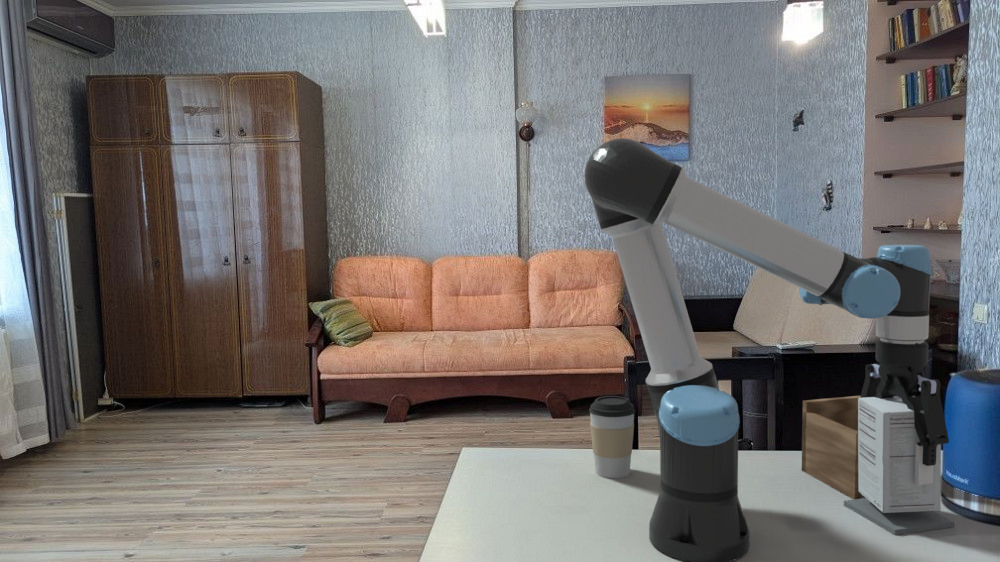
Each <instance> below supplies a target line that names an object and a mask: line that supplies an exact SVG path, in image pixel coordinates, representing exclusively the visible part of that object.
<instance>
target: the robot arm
mask: <svg viewBox="0 0 1000 562" xmlns="http://www.w3.org/2000/svg"><path fill="white" fill-rule="evenodd" d="M584 183H585V187H586V190H587V193H588V194H589V196H590V198H591V201H592V204H593V207H594V210H595V214H596V217H597V221H598V224H599V228H600V230H601V232H603V233H605V235H608V236H610V237H611V238H612V239H613V241H612V242H613V244H614V247H615V250H616V253H617V256H618V257H617V258H618V261H619V264H620V268H621V271H622V275H623V277H624V281H625V284H626V289H627V291H628V294H629V297H630V302H631V304H632V308H633V311H634V314H635V319H636V322H637V325H638V329H639V332H640V336H641V338H642V342H643V346H644V350H645V353H646V355H647V359H648V363H649V366H650V372H649V373H648V375H647V377H646V378H645V384H646V387H647V390H648V394H649V397H650V401H651V404H652V408H653V412H654V415H655V418H656V419H655V420H656V422H657V426H658V427H657V428H658V433H659V448H660V449H659V450H660V451H659V452H660V454H659V455H660V457H659V459H660V460H659V461H660V462H659V463H660V472H659V473H660V474H659V475H660V476H659V477H660V487H659V488H660V491H659V494H658V496H657V500H656V502H655V505H654V508H653V511H652V515H651V517H650V520H649V524H648V525H649V526H648V527H649V528H648V530H649V531H648V532H649V534H648V535H649V536H648V537H649V542H650V543H651V545H652V546H653V547H654V548H655V549H657V550H658V551H660V552H661V553H662V554H665V555H667V556H670V557H672V558H675V559H678V560H681V561H686V562H731V561H735V560H738V559H740V558H742V557H743V556H745V555H746V554H747V553H748V552H749V550H750V530H749V527H748V523H747V521H746V520H747V519H746V517H745V515H744V511H743V508H742V505H741V501H740V500H739V494H738V492H739V489H738V488H739V429H740V424H741V423H740V421H741V420H740V414H739V407H738V403H737V401H736V399H735V397H733V395H731V394H730V393H729V392H727V391H724V390H721V389H720V387H719V384H718V381H717V377H716V373H715V371H714V369H715V368H714V367H713V364H712V362H710V361H708V360H706V359H704V358H703V357H702V356H701V354H700V351H699V348H698V343H697V339H696V336H695V334H694V330H693V327H692V323H691V319H690V316H689V313H688V309H687V306H686V302H685V299H684V296H683V292H682V289H681V285H680V282H679V278H678V274H677V271H676V269H675V265H674V261H673V258H672V253H671V251H670V248H669V244H668V240H667V238H666V234H665V230H664V227H663V224H666V225H668V226H670V227H672V228H674V229H676V230H678V231H681V232H683V233H685V234H687V235H688V236H691V237H693V238H695V239H697V240H700V241H701V242H703V243H706V244H708V245H710V246H712V247H713V248H716V249H717V250H720V251H721V252H724V253H726V254H728V255H730V256H733V257H735V258H737V259H739V260H742V261H743V262H745V263H747V264H750V266H751V265H752V266H754V267H756V268H758V269H760V270H762V271H764V272H766V273H767V274H771V275H773V276H775V277H776V278H777V279H778V278H779V279H780V280H783V281H785V282H787V283H789V284H791V285H793V286H795V287H798V292H799V296H800V299H801V300H802V302H803V303H805V304H808V305H819V306H823V305H833V306H836V307H837V308H840V309H842V310H845V311H846V312H848V313H849V314H851V315H853V316H855V317H857V318H861V319H869V320H870V319H871V320H873V319H876V320H875V321H876V322H875V336H876V337H878V339H877V340H875V360H876V362H877V363H873V364H872V363H870V364H866V365H865V368H864V369H865V371H864V372H865V373H864V374H865V376H864V377H865V378H864V380H863V381H864V382H863V385H862V389H861V393H860V396H861V397H860V398H866V397H876V398H879V399H884V398H893V397H894V396H898V397H900V398H901V399H902V401H903V403H904V404H906V405H907V407H908V409H910V410H912V411H914V426H915V429H916V432H917V434H918V437H919V440H920V442H918V443H916V455H915V484H917V485H923V484H931V483H933V465H935V464H936V449H937V445H940V444H941V445H948V444H949V442H950V439H949V434H948V430H947V424H946V419H945V413H944V409H943V404H942V399H941V398H942V397H941V381H940V380H939V379H929V378H927V377H925V373H924V367H925V366H927V364H928V363H929V343H928V342H927V341H926V340H928V339H929V334H930V333H929V332H930V331H929V328H930V327H929V326H930V297H931V296H930V294H931V281H932V280H931V277H932V274H933V273H932V260H931V252H930V249H929V248H928V247H926V246H925V245H921V244H920V245H919V244H884V245H880V246H879V247H878V249H877V254H876V256H875V257H874V256H872V257H867V258H866V257H865V258H864V257H863V258H858V257H855V256H854V255H852V254H850V253H846V252H844V251H843V250H842V249H839V248H837V247H835V246H832V245H831V244H829V243H827V242H825V241H822V240H820V239H818V238H816V237H813V236H812V235H809V234H808V233H806V232H803V231H801V230H799V229H797V228H795V227H793V226H791V225H789V224H786V223H784V222H782V221H780V220H778V219H776V218H774V217H771V216H769V215H768V214H765V213H763V212H761V211H758V210H756V209H755V208H753V207H751V206H748V205H747V204H745V203H742V202H740V201H738V200H736V199H734V198H731V197H729V196H727V195H725V194H723V193H721V192H719V191H717V190H714V189H712V188H711V187H708V186H706V185H704V184H702V183H700V182H698V181H695V180H694V179H692V178H690V177H688V176H687V173H686V170H685V168H684V167H682V166H680V165H678V164H676V163H674V162H673V161H670V160H668V159H666V158H665V157H664V156H662V155H660V154H658V153H656V152H655V151H653V150H652V149H650V148H649V147H647V146H646V145H644V144H643V143H641V142H639V141H637V140H634V139H630V138H622V137H621V138H614V139H611V140H607V141H605V142H603V144H600V145H599V146H598V147H597V148H595V150H594V151H593V152H592V153H591V155H590V156H589V158H588V160H587V163H586V164H585V168H584ZM913 396H914V397H913ZM922 410H924V414H923V413H921V412H920V411H922ZM857 415H858V408H857ZM927 435H928V436H929V437H927Z"/></svg>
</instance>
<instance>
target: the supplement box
mask: <svg viewBox="0 0 1000 562" xmlns="http://www.w3.org/2000/svg"><path fill="white" fill-rule="evenodd" d="M913 397H915V396H913ZM920 412H921V413H923V414H924V410H922V411H920ZM927 437H929V436H928V435H927ZM918 442H920V440H919V437H918V434H917V432H916V429H915V426H914V411H912V410H910V409H908V407H907V405H906V404H904V403H903V401H902V399H901V398H900V397H898V396H897V395H894V397H893V398H884V399H879V398H876V397H866V398H858V487H859V490H858V491H859V492H860V493H861V495H862V496H863V497H864V498H867V499H868V500H869V501H870V502H871V503H872V504H874V505H875V506H876V507H877V508H878V509H879V510H880V511H882V512H883V513H893V512H919V511H933V512H935V511H936V512H939V511H941V506H942V505H941V504H942V503H941V499H942V498H941V496H942V495H941V493H942V492H941V491H942V489H941V484H942V482H941V481H942V479H941V477H942V474H941V473H942V472H941V471H942V455H941V453H942V444H940V445H937V449H936V464H935V465H933V483H931V484H923V485H917V484H915V455H916V443H918Z"/></svg>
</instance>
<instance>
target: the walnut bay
mask: <svg viewBox="0 0 1000 562" xmlns="http://www.w3.org/2000/svg"><path fill="white" fill-rule="evenodd" d="M860 397H861V395H853V396H843V397H842V396H841V397H829V398H818V399H807V400H802V419H801V421H802V427H801V429H802V431H801V471H802V472H804V473H806V475H807V474H808V475H809V476H811V477H812V478H815V479H816V480H818V481H820V482H821V483H823V484H825V485H827V486H829V487H831V488H833V490H834V489H835V490H836V491H838V492H839V493H841V494H843V495H846V496H847V497H849V498H850V499H851V500H854V499H862V498H861V495H862V494H861V493H860V492H859V491H858V490H859V487H858V415H857V408H858V398H860Z"/></svg>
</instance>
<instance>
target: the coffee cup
mask: <svg viewBox="0 0 1000 562" xmlns="http://www.w3.org/2000/svg"><path fill="white" fill-rule="evenodd" d="M588 412H589V414H590V423H589V425H590V434H591V443H592V452H593V456H594V457H593V458H594V466H595V467H594V469H595V470H594V471H595V474H596V475H598V476H599V477H602V478H606V479H623V478H626V477H628V476H629V475H630V473H631V458H632V452H633V444H634V443H633V442H634V433H635V432H634V430H635V422H634V420H635V414H636V409H635V406H634V404H633V403H631V400H630V398H626V397H623V396H618V395H606V396H605V395H603V396H599V397H597V398H595V399H594V402H592V403H591V404H590V408H589V409H588Z"/></svg>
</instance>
